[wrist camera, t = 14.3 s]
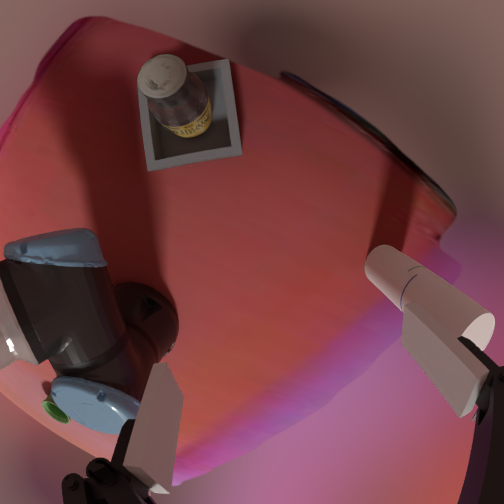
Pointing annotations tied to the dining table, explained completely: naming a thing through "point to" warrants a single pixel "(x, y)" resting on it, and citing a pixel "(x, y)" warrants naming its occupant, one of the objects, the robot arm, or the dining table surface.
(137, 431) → the robot arm
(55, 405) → the ramekin
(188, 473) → the dining table surface
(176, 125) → the sauce bottle
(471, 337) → the cylindrical container
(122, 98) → the dining table surface
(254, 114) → the dining table surface
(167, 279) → the dining table surface
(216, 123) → the grey open box
